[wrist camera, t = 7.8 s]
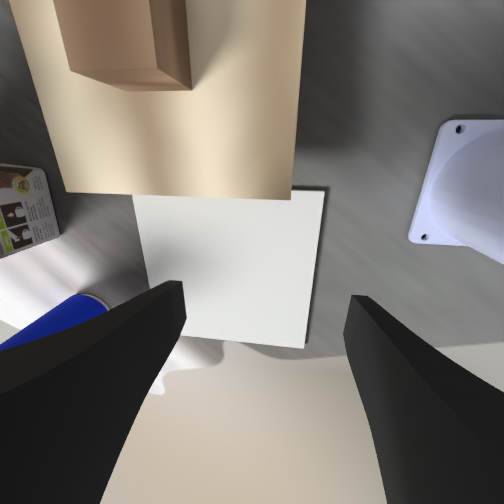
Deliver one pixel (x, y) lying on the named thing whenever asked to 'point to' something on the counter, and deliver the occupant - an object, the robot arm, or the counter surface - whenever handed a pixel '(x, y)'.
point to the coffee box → (24, 209)
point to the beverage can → (59, 319)
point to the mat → (235, 262)
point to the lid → (168, 93)
